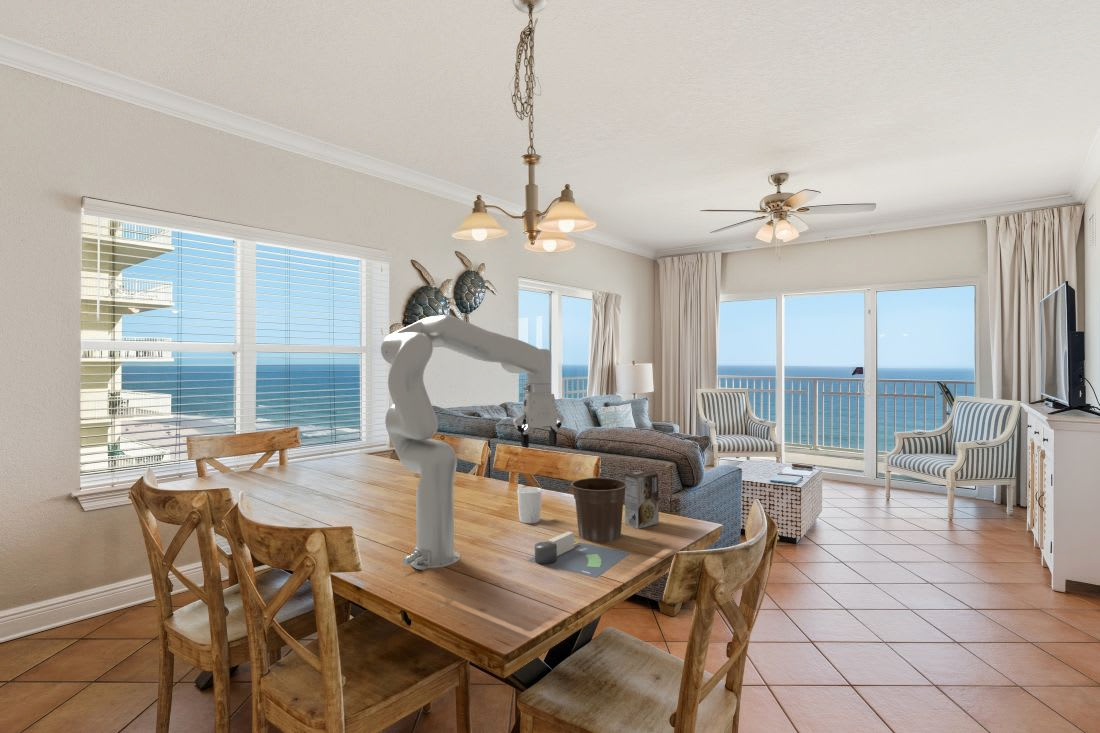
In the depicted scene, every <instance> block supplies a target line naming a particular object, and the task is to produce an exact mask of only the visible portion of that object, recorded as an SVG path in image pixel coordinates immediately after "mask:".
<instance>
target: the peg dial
mask: <svg viewBox="0 0 1100 733" xmlns="http://www.w3.org/2000/svg"><path fill="white" fill-rule="evenodd" d="M574 533H575V532H573V531H569V530H568V531H566V532H563V533H562V534H559V535H556V536H554V537H552V538H550V539H547V541H541V542H539V541H538V542H536V543H535V544H534V557H535V561H536V562H538V563H543V564H548V563H553V562H555V561H556V560H557V556H558V555H560V554H563V553H565V552H567V551H569V550H571V549H573V548H574V546H576V545H578V544H580V541H577V542H576V543H574V541H575V535H574ZM538 563H537V564H538Z"/></svg>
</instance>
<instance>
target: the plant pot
mask: <svg viewBox="0 0 1100 733" xmlns="http://www.w3.org/2000/svg"><path fill="white" fill-rule="evenodd" d="M570 484H571V485H570V486H571V487H572V491H573V498H574V500H575V509H576V517H577V518H576V520H577V529H578V530H577V531H578V536H579V537H580V538H581V539H582V540H584V541H588V542H592V543H609V542H610V543H611V542H614V541H617V540H619V539H620V538H621V536H622V526H623V524H622V522H623V511H624V500H625V488H626V487H627V483H626V482H625V480H621V479H617V478H610V477H588V478H581V479H580V478H579V479H576V480H574V481H572V482H571V483H570Z"/></svg>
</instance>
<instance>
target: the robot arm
mask: <svg viewBox="0 0 1100 733" xmlns="http://www.w3.org/2000/svg"><path fill="white" fill-rule="evenodd" d="M434 348H446V349H448V350H451V351H454V352H457V353H458V354H461V355H465V356H467V357H469V358H473V359H474V360H478V361H482V362H488V363H489V362H490V363H500V365H501V367H502V369H503V370H505V371H506V372H508V373H509V374H510V373H511V374H526V384H525V386H523V387H522V390H523V391H525V394H524V398H523V401H522V402H523V403H522V411H521V412H522V414H520V415H518V416H517V417H516V418H514V419H512V423H513V425H514V427H515V429H516V430H517V431H518V433H519V434H520V445H521V447H522V448H526V449H528V448H529V446H530V439H529V438H530V436H529V434H528V432H529V431H531V430H530V429H537V428H538V429H539V428H548V429H549V431H548V444H550V445H553V446H557V442H558V441H557V440H558V436H557V435H558V432H559V430H560V428H561V427H562V424H563V421H564V420H565V417H564V416H563V415H561V414H559V413H557V411H558V410H557V403H556V402H557V401H556V397H555V394H554V393H552V351H551V350H550V349H547V348H538V347H536V346H535V345H532V344H530V343H527V342H526V341H524V340H523V341H522V340H520V339H517V338H514V337H509V336H506V335H502V334H500V333H497V332H493V331H489V330H486V329H484V328H482V327H480V326H477V325H475V324H473V323H471V322H468V321H466V320H465V319H461V318H459V317H456V316H454V315H450V314H441V315H431V316H427V317H425V318H422V319H420V320H418V321H416V322H413V323H412V324H409V325H407V326H406V327H405V326H404V327H403V328H401V329H398V330H396V331H394V332H392V333H390V334H389V335H387V336H386V337H385V338H384V339H383V341H382V342H381V345H380V353H381V356H382V358H383V360H384V361H385V362H387V363H388V364H389V365H391V366H390V369H389V371H388V372H389V373H388V376H387V377H388V380H387V384H388V385H387V386H388V390H389V394H390V398H391V400H392V404H391V405H390V407H389V408H388V409H387V412H386V414H385V419H384V420H385V421H384V422H385V428H386V431H387V433H388V436H389V439H390V441H391V443H392V446H393V448H394V451H395V452H396V456H397V457H398V460H399V462H400V463H401V464H402V466H403V467H404V468H405V469H406V470H408V471H409V472H412V473H415V474H419V475H420V476H419V479H418V483H417V486H416V490H415V491H416V493H415V506H416V507H415V508H416V509H415V510H416V511H415V512H416V513H415V515H416V516H415V518H416V523H415V524H416V546H415V547H413V552H412V553H411V554H410V555H406V556H404V557H402V560H401V561H402V564H403V566H407V565H411V566H412V567H413V568H414V569H416V570H419V571H425V570H427V569H431V568H432V569H435V568H443V567H448V566H450V565H454V564H455V563H456V562H458V561H459V560H460V559H461V554H460V553H459V552H458V551H455V526H454V525H455V516H454V515H455V511H454V510H455V507H454V506H455V504H454V503H455V501H454V498H455V497H454V496H455V494H454V493H455V492H454V487H455V479H456V478H455V477H456V471H457V467H458V456H457V454H456V451H455V449H454V448H453V447H452V446H451V445H450V444H449V443H447V442H445V441H443V440H439V439H434V438H433V436H435V434H436V433H437V431H438V429H439V421H438V417H437V414H436V412H435V410H434V408H433V404H432V402H431V400H430V399H431V398H430V397H429V395H428V391H427V388H426V386H425V382H424V374H425V370H426V367H427V364H428V363H429V361H430V360H431V357H432V354H433V352H434V351H433V350H434ZM521 422H522V425H521Z"/></svg>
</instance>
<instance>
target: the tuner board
mask: <svg viewBox="0 0 1100 733" xmlns="http://www.w3.org/2000/svg"><path fill="white" fill-rule="evenodd" d="M576 542H578V541H576V540H574V543H576ZM579 542H580V541H579ZM630 554H631V552H628V551H623V550H618V549H613V548H608V547H605V546H604V547H603V546H599V545H595V544H589V543H586V542H585V543H584V542H582V541H581V542H580V544H578V545H576V546H574V548H573V549H571V550H569V551H567V552H565V553H563V554H560V555H558V556H557V560H556V561H555V562H553V563H548V564H543V563H538V562H536V561H535V556H533V557H531V558H529V559H528V560H527V562H531V563H535V564H539V565H543V566H547V567H552V568H554V569H559V570H562V571H567V572H571V573H574V574H579V575H583V576H587V577H589V578H590V577H591V578H595V579H598V577H600V576H601V575H603V574H604V573H605V572H607V571H608V570H609V569H611V568H613V567H614V566H615V565H616V564H618V563H619V562H621V561H622V560H623V559H625V558H626V557H628V556H629V555H630Z"/></svg>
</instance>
